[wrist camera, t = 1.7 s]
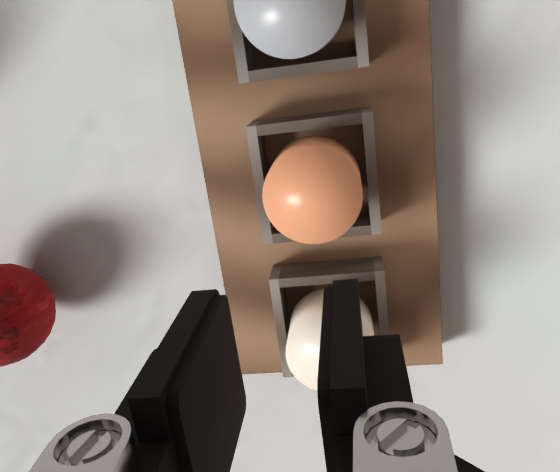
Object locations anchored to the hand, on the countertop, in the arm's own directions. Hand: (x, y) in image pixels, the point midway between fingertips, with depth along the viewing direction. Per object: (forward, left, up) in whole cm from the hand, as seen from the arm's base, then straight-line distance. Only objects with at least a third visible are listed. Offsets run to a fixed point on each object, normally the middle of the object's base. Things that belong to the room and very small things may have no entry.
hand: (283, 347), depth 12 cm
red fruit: (+6, -19, -19) cm, 28 cm away
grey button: (-8, 0, -15) cm, 17 cm away
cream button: (+8, 0, -15) cm, 17 cm away
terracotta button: (0, 0, -15) cm, 15 cm away
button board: (0, 0, -19) cm, 19 cm away
